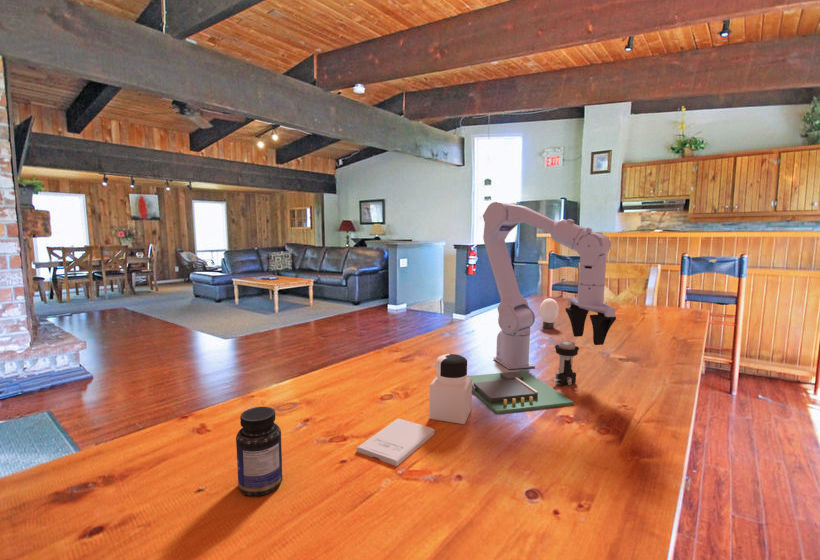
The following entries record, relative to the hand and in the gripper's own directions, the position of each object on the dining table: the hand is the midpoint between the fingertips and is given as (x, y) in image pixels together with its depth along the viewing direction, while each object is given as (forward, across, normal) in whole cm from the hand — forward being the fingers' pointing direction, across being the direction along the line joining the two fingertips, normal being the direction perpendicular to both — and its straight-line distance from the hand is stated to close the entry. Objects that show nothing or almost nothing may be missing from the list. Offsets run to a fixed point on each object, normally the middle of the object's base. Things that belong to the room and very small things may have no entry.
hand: (587, 340), depth 103 cm
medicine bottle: (+11, -9, +38) cm, 41 cm away
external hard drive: (+11, -17, +51) cm, 55 cm away
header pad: (+10, -3, +23) cm, 25 cm away
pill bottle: (+11, -25, +73) cm, 78 cm away
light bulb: (+11, +51, -22) cm, 57 cm away
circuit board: (+10, -1, +20) cm, 23 cm away
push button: (+11, 0, +6) cm, 12 cm away
